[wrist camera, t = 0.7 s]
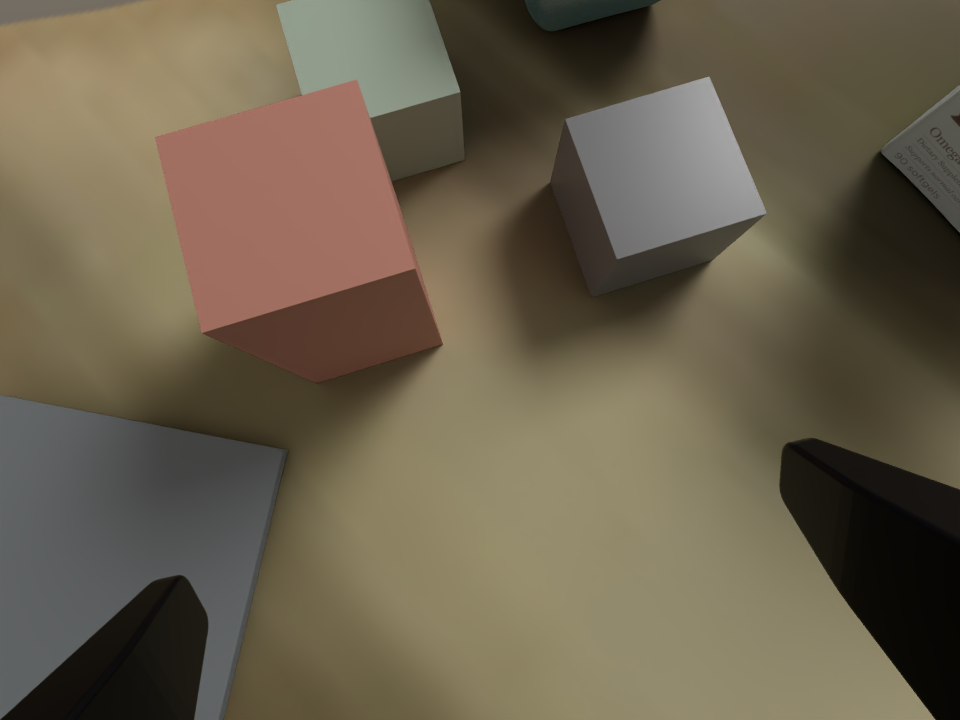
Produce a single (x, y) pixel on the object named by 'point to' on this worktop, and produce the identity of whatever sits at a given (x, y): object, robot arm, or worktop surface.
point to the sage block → (383, 73)
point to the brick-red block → (298, 236)
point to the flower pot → (578, 11)
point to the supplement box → (933, 155)
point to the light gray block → (652, 186)
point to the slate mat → (123, 534)
